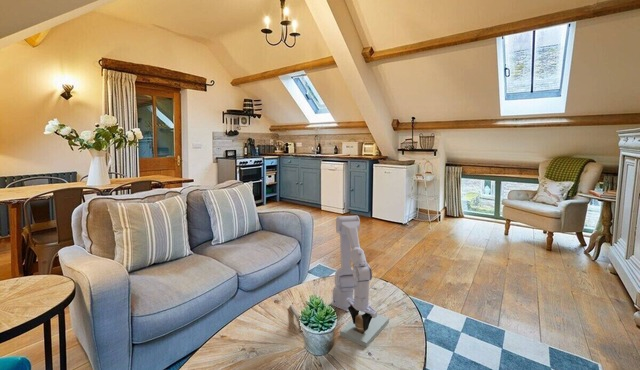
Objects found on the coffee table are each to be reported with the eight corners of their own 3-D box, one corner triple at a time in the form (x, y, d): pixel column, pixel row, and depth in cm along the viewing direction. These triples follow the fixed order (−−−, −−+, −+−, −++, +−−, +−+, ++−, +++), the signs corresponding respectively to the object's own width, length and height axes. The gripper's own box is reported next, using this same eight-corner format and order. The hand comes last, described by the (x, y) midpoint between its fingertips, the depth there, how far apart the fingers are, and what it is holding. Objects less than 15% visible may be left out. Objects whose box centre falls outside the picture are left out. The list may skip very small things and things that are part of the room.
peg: (353, 330, 129) (353, 315, 128) (364, 328, 130) (364, 313, 129) (357, 337, 124) (357, 321, 123) (368, 335, 125) (369, 320, 124)
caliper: (302, 332, 128) (302, 318, 127) (300, 332, 128) (300, 319, 127) (291, 306, 147) (291, 293, 146) (289, 306, 147) (289, 294, 146)
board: (339, 335, 126) (340, 330, 125) (364, 312, 142) (364, 308, 141) (366, 347, 119) (366, 342, 118) (388, 322, 134) (388, 318, 134)
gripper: (382, 298, 121) (381, 330, 124) (354, 285, 132) (353, 314, 134) (370, 305, 117) (369, 337, 119) (343, 290, 127) (342, 320, 130)
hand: (360, 325), depth 126 cm, fingers closed on peg, 5 cm apart
